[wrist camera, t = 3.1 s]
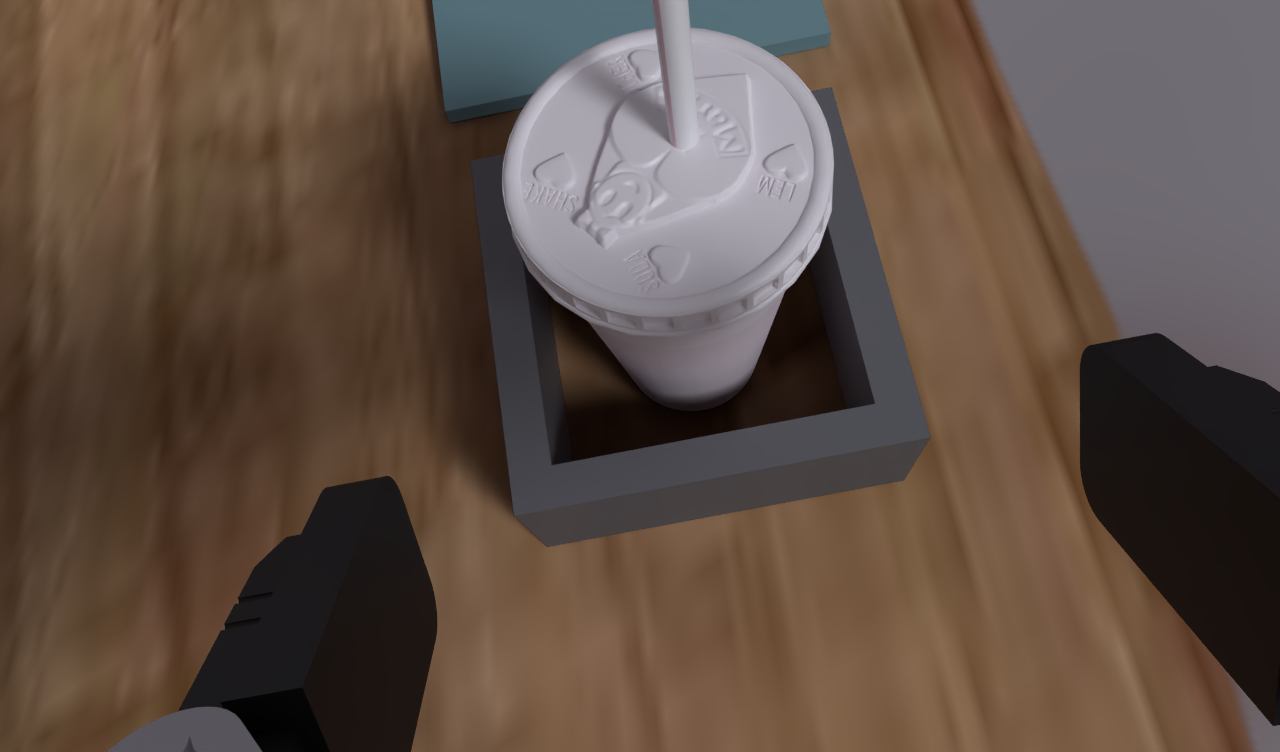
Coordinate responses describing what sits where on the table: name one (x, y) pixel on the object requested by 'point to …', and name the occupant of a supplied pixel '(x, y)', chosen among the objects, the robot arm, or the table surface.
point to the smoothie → (672, 199)
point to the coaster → (583, 39)
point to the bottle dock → (721, 463)
